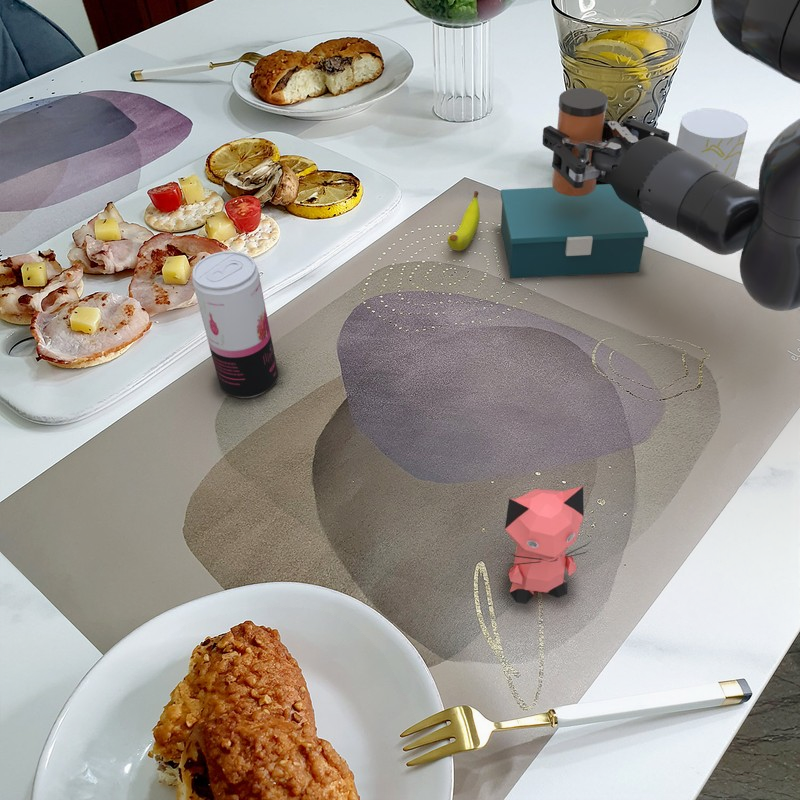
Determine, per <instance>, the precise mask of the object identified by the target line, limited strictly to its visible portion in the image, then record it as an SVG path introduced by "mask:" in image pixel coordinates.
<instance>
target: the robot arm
mask: <svg viewBox="0 0 800 800" xmlns="http://www.w3.org/2000/svg"><path fill="white" fill-rule="evenodd" d="M710 5H711V13H712V17H713V21H714V24H715V26H716V28H717V30H718V32H719V34H721V36H722V37H723V39H725V40H726V41H727V42H728V43H729V44H730V45H731V46H732V47H733V48H734V49H735V50H737V51H738V52H740V53H741V54H744V55H745V56H748V57H749V58H750V59H752V60H754V61H755V62H758V63H759V64H761V65H763V66H765V67H766V68H768V69H770V70H772V71H774V72H775V73H778V74H779V75H781V76H782V77H785V78H787V79H789V80H790V81H792V82H794V83H796V84H799V85H800V0H710ZM633 130H634V131H636V132H637V136H636V135H633ZM669 138H670V132H669V131H666V130H663V129H661V128H658V127H656V126H652V125H649V124H646V123H644V122H640V121H637V120H635V119H632V118H624V119H623V120H622V122H621V123H619V122H618V121H615V120H609V121H608V120H606V119H604V126H603V134H602V142H601V141H597V140H593V139H589V138H586V139H585V140H584V141H581V140H577V139H573V138H569V136H568V135H566V134H564V133H562V132H561V131H559V130H557V128H555V127H553V126H552V125H547V126H545V127H544V128H543V129H542V145H543V147H544V148H547V149H549V150H550V151H552V152H553V154H552V161H551V168H553V170H554V169H555V170H556V171H557V172H558V173H559V174H560V175H561V176H562V177H563V178H564V179H566V180H567V181H568V182H569V183H570V184H571V185H572V186H573V187H574V188H582V187H583V185H584V180H588V179H593V178H595V179H596V181H598V182H602V183H605V184H610V185H611V186H612V187H613V189H614V191H615V193H616V195H617V196H618V198H619V199H620V200H622V201H623V202H625V203H627V204H628V205H630V206H632V207H633V208H635V209H637V210H638V211H640V213H641V214H642V215H645V216H646V217H648V218H650V219H652V220H653V221H655V222H657V223H658V224H659V225H661V226H663V227H666V228H667V229H669V230H673V231H676V232H678V233H679V234H681V235H683V236H685V237H687V238H688V239H689V240H692V241H693V242H695V243H697V244H699V246H701V247H704V248H705V249H707V250H709V251H710V252H711V253H714V254H717V255H721V256H728V255H729V256H730V255H732V254H735V253H738V252H739V251H741V255H740V258H739V274H740V279H741V282H742V285H743V287H744V289H745V291H746V292H747V294H748V295H749V296H750V298H751V299H752V300H753V301H754V302H756V303H757V304H758V305H760V306H761V307H763V308H765V309H768V310H771V311H776V312H789V311H793V310H796V309H798V308H800V117H799V118H798V119H796V120H795V121H793V122H792V123H790V124H789V125H788V126H787V127H785V128H784V129H782V130H781V132H780V133H778V134H777V136H776V137H775V138H774V139H772V142H771V143H770V145H769V146H768V148H767V150H766V152H765V153H764V155H763V159H762V161H761V165H760V167H759V175H758V177H759V178H758V188H754V187H751V186H748V184H747V185H746V183H743V182H741V181H739V180H737V179H736V178H735V179H734V178H732V177H730V176H728V175H726V174H724V173H722V172H720V171H718V170H717V169H716V168H714V167H713V166H712V165H710V164H709V163H708V162H706V161H704V160H702V159H700V158H698V157H697V156H695V155H693V154H691V153H689V152H687V151H685V150H683V149H681V148H679V147H677V146H676V145H675V144H674V143H672V142H669ZM573 148H575V149H578V150H579V156H575V155H574V154H573V153H572V149H573ZM590 149H593V151H592V156H591V163H590V162H589V152H590Z"/></svg>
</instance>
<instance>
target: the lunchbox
mask: <svg viewBox="0 0 800 800" xmlns="http://www.w3.org/2000/svg"><path fill="white" fill-rule="evenodd" d="M500 198H501V220H500V232H501V237H502V242H503V248H504V252H505V257H506V262H507V263H506V264H507V268H508V273H509V277H510V279H523V278H524V279H525V278H544V277H545V278H546V277H561V276H585V275H601V274H621V273H638V272H640V268H641V264H642V263H641V262H642V256H643V251H644V245H645V240H646V238H648V236H649V230H648V227H647V225H646V222H645V220H644V218H643V216H642V215H643V214H642V212H640V211H638V210H637V209H635V208H633V207H632V206H630V205H628V204H627V203H625V202H623V201H622V200H620V199H619V198H618V196H617V195H616V193H615V191H614V189H613V187H612V186H611V185H610V184H608V183H605V184H603V183H602V184H596V187H595V189H594V191H593V192H591V193H590V194H587V195H583V196H567V195H563V194H561V193H559V192H557V191H555V190H554V188H553V186H552V185H551V186H549V187H548V186H547V187H545V186H544V187H529V188H527V187H526V188H511V189H510V188H509V189H501V190H500Z"/></svg>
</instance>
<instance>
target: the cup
mask: <svg viewBox="0 0 800 800" xmlns="http://www.w3.org/2000/svg"><path fill="white" fill-rule="evenodd" d="M748 129H749V123H748V121H747V120H746V119H745V118H744V117H743V116H742V115H739V114H738V113H735V112H734V111H730V110H726V109H721V108H709V107H708V108H698V109H694V110H691V111H687V112H686V113H685V114H684V115H683V116H682V117H681V119H680V124H679V130H678V135H677V139H676V145H675V146H677V147H679V148H681V149H683V150H685V151H687V152H689V153H691V154H693V155H695V156H697V157H698V158H700V159H702V160H704V161H706V162H708V163H709V164H710V165H712V166H713V167H714V168H716V169H717V170H718V171H720V172H722V173H724V174H726V175H728V176H730V177H732V178H734V179H735V180H736V176H737V172H738V168H739V165H740V161H741V157H742V153H743V149H744V145H745V141H746V136H747V133H748Z"/></svg>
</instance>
